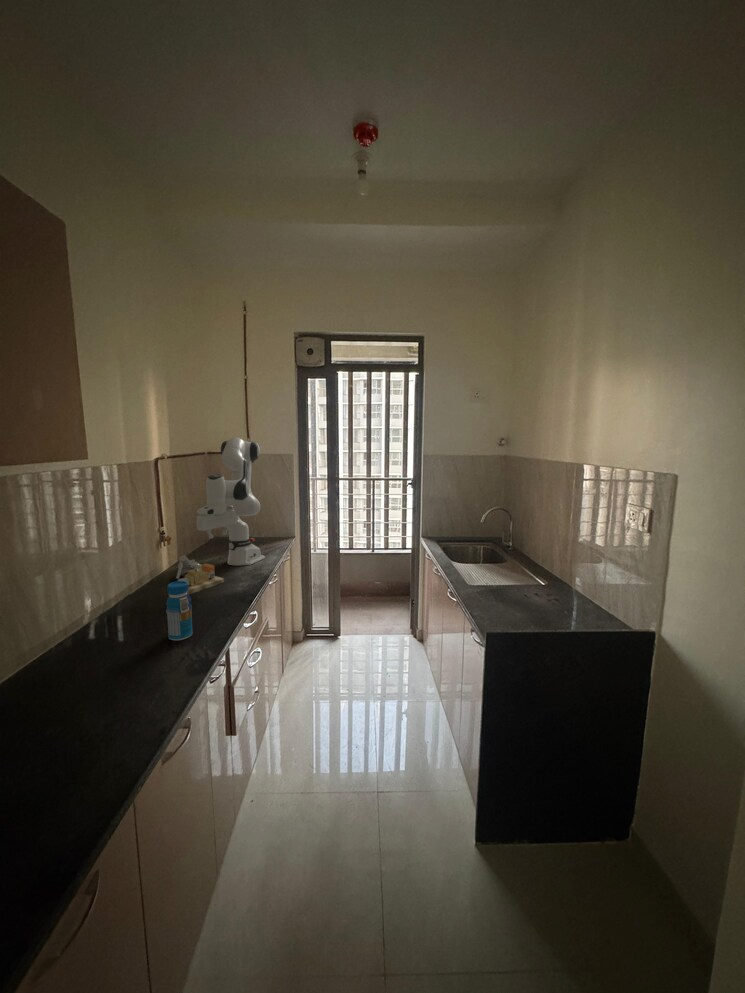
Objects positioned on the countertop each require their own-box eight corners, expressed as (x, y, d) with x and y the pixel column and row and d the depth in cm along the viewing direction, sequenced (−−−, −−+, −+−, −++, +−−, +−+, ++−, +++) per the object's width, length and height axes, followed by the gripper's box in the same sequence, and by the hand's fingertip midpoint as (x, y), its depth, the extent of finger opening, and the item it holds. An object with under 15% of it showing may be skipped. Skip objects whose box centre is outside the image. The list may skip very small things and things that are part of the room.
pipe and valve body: (209, 576, 203) (208, 561, 201) (216, 578, 200) (215, 562, 199) (176, 587, 187) (175, 570, 186) (183, 589, 185) (182, 572, 183)
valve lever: (192, 568, 192) (191, 562, 192) (197, 566, 194) (196, 560, 194) (209, 573, 185) (209, 567, 185) (214, 571, 188) (214, 565, 187)
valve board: (209, 577, 206) (208, 574, 206) (224, 582, 200) (223, 578, 200) (168, 591, 188) (168, 587, 187) (184, 596, 181) (183, 592, 181)
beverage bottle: (165, 642, 140) (161, 589, 137) (170, 631, 148) (167, 580, 145) (191, 639, 142) (188, 586, 139) (195, 629, 150) (192, 578, 147)
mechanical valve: (202, 567, 214) (192, 552, 203) (195, 597, 202) (184, 583, 191) (183, 569, 214) (172, 554, 202) (175, 599, 202) (162, 585, 191)
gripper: (230, 505, 199) (231, 531, 201) (193, 510, 182) (195, 539, 184) (238, 506, 196) (239, 533, 198) (202, 512, 179) (203, 541, 180)
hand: (218, 536), depth 191 cm, fingers open, 6 cm apart
